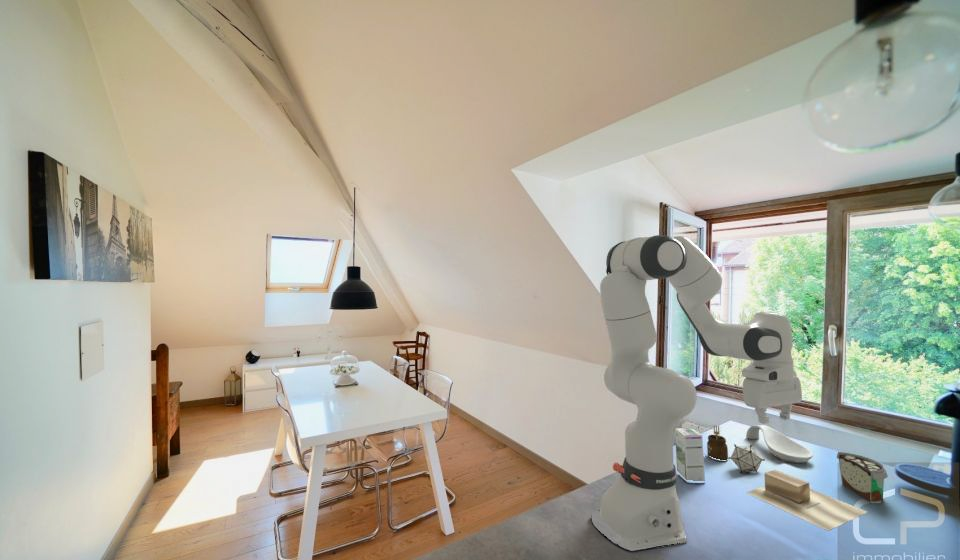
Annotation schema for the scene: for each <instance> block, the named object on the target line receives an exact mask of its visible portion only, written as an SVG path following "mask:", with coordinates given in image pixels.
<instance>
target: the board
mask: <svg viewBox="0 0 960 560" xmlns="http://www.w3.org/2000/svg"><path fill="white" fill-rule="evenodd" d="M746 494H748V495H750V496H752V497H755V498H757V499H759V500H760V501H763V502H765V503H767V504H769V505H772V506H774V507H776V508H777V509H780V510H782V511H784V512H787V513H789V514H791V515H792V516H795V517H797V518H800V519H801V520H804V521H805V522H807V523H809V524H812V525H814V526H816V527H818V528H820V529H823V530H824V531H827V532H829V531H832V530H834V529H836V528H837V527H839V526H842V525H843V524H846V523H849V522H851V521H853V520H855V519H857V518H859V517H861V516H863V515H866V514H867V513H869V511H867V510H864V509H862V508H859V507H857V506H854V505H851V504H850V503H847V502H845V501H841V500H840V499H837V498H834V497H831V496H829V495H826V494H824V493H822V492H819V491H818V490H814V489H812V488H810V500H809V501H806V502H804V503H801V504H797V503H795V502H793V501H790V500H788V499H786V498H784V497H781V496H779V495H777V494H774V493H772V492H770V491H768V490H765V485H763V486H760V487H757V488H755V489H752V490H750V491H746Z"/></svg>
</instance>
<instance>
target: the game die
mask: <svg viewBox="0 0 960 560" xmlns="http://www.w3.org/2000/svg"><path fill="white" fill-rule="evenodd" d="M733 446H734V450H733V452H732V454H731V456H728V459H729V460H732V462H733V463H734V464H735V465H736V467H738V469H739V470H740V471H739V473H740V474H743V472H751V473H758V470H759V468H760V466H761V463H762V462H765V461H766V459H765V458H762V457H760V456H759V454H757V452H756V451H755V450H754V448H752V447H753V445H752V444H750V445H749V446H737V445H736V444H733Z"/></svg>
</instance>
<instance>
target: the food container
mask: <svg viewBox="0 0 960 560" xmlns="http://www.w3.org/2000/svg"><path fill="white" fill-rule="evenodd" d="M836 459H838V464H839V471H840V480H841V484H842V486H844V487H846V488H847V489H849V490H850V491H852V492H853V493H855V494H856V495H858V496H860V497H861V498H862V499H864V500H866V501H867V502H869V503H870V504H881V503H882V502H883V501H884V488H885V487H884V485H885V483H884V481H885V479H887V478H888V477H889V476H888V473H887V470H886V468H885V467H884V465H883V464H882V463H880V462H878V460H874V459H872V458H869V457H865V456H863V455H859V454H855V453H851V452H844V451H837V454H836Z"/></svg>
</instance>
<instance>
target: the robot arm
mask: <svg viewBox="0 0 960 560" xmlns="http://www.w3.org/2000/svg"><path fill="white" fill-rule="evenodd" d="M605 261H606V263H605V264H606V269H605V270H606V271H605V273H606V275H605V276H604V277H603V278H602V279H601V282H600V283H599V284H600V286H599V288H600V289H599V290H600V291H599V292H600V302H601V309H602V312H603V317H604V320H605V324H606V329H607V332H608V336H609V340H610V345H611V357H610V358H611V360H610V363H609V364H608V365H607V366H606V369H605V370H604V375H603V376H604V377H603V380H604V384H605V387H606V388H607V390H608V391H610V392H611V393H612V394H613V395H615V397H617V398H619V399H620V400H623V401H624V402H625V401H626V402H628V403H630V404H633V405H635V406H636V408H637V415H636V418H635V421H632V422H630V423H629V424H628V425H627V426H626V427H625V430H624V444H625V445H624V446H625V447H624V448H625V457H624V460H623V463H622V464H620V463H619V462H614V463H613V464H612V470H613V471H614V472H617V474H620V476H619V477H618V478H617V479H616V480H615V481H614V482H613V484H612V485H611V486H609V488H608V489H607V490H605V492H604V493H603V494H602V496H601V499H600V506H599V507H600V508H599V509H600V516H601V518H602V519H603V521H604V522H605V523H606V524H607V525H608V526H609V527H610V528H611V529H612V530H613V531H615V532H616V533H617V534H619V535H620V536H621V537H622V538H624V539H626V540H627V541H629V543H628V544H627V545H628V547H629V548H642V547H649V546H658V545H660V546H661V545H668V546H672V545H671V544H674V545H678V544H679V543H680V544H685V543H686V542H687V540H688V539H687V535H686V533H685V531H684V530H685V524H684V521H683V519H682V513H681V508H680V507H681V506H680V501H679V497H678V493H677V489H676V483H677V476H678V474H677V467H676V465H675V463H674V437H675V429H677V428H676V427H677V426H678V423H679V422H680V421H681V419H683V418H684V417H686V416H689V414H691V413H692V412H693V410H694V408H695V407H696V404H697V400H698V399H697V397H698V396H697V394H698V393H697V390H696V387H695V384H694V383H693V382H692V380H691V379H690V378H688V377H687V376H685V375H684V374H681V373H679V372H676V371H675V370H673V369H670V368H665V367H661V366H657V365H653V364H651V361H650V360H649V350H651V349H652V348H653V347H654V346H655V345H656V342H657V340H658V336H657V331H656V328H655V323H654V319H653V316H652V313H651V312H652V311H651V308H650V305H649V302H648V299H647V296H646V286H647V281H652V280H665V279H667V281H668V282H669V283H670V284H671V287H673V288H674V290H675V291H676V300H677V303H678V304H679V306H680V308H681V310H682V311H683V313H684V314H685V316H686V318H687V319H688V321H689V322H690V323H691V325H692V327H693V328H694V330H695V331H696V334H697V336H698V339H699V342H700V344H701V346H702V348H703V350H704V351H705V352H706V353H708V354H709V355H712V356H715V357H728V358H734V359H740V360H747V361H752V362H751V363H750V364H749V365H747V366H746V367H744V368H743V369H741V376H742V377H743V378H744V379H743V381H742V395H743V396H742V398H743V402H744V404H745V406H746V407H749V408H754V411H755V413H756V415H757V416H758V418H757V419H758V423H760V424H762V425H765V424H769V422H770V421H769V420H770V417H769V416H767V413H766V412H767V408H772V407H778V406H782V407H781V411H779V418H780V419H781V420H784V421H788V420H790V419H791V412H792V409H793V406H794V405H793V404H798V403H801V402H802V399H803V391H802V386H801V385H802V384H801V381H800V378H799V377H798V375H797V373H796V372H795V370H794V369H795V368H794V359H793V356H792V350H793V345H794V344H793V343H794V342H793V340H794V339H793V331H792V330H793V329H792V325H791V323H790V320H789V319H790V318H788V317H787V316H786V315H783V314H780V313H774V312H773V313H772V312H768V311H767V312H766V311H765V312H763V311H762V312H761V311H760V312H756V313H755V314H754V316H753V318H752V319H750V320H749V321H747V322H745V323H742V324H741V323H740V324H739V323H727V322H723V321H720V320H717V319H716V318H715V316H714V315H713V313H711V310H710V308H709V307H708V306H707V304H706V303H708V302H709V301H711V300H712V299H714V297H716V295H718V293H719V292H720V289H721V288H722V285H723V278H722V274H721V273H720V270H719V269H718V268H717V266H716V265H715V264H714V262H712V261H711V259H710V257H708V255H707V254H706V253H705V252H704V251H702V249H700V247H699V246H698V245H696V244H695V243H694V242H693V241H692V240H690V239H689V238H687V237H685V236H683V235H682V236H681V235H677V236H676V235H675V236H669V235H664V234H663V235H662V234H661V235H660V234H657V235H652V236H646V237H635V238H632V239H628V240H626V241H625V240H624V241H621V242H618V243H617V244H614V245H613V246H612V247H611V248H610V250H609V251H608V253H607V255H606V259H605ZM677 543H678V544H677ZM669 544H670V545H669Z"/></svg>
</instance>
